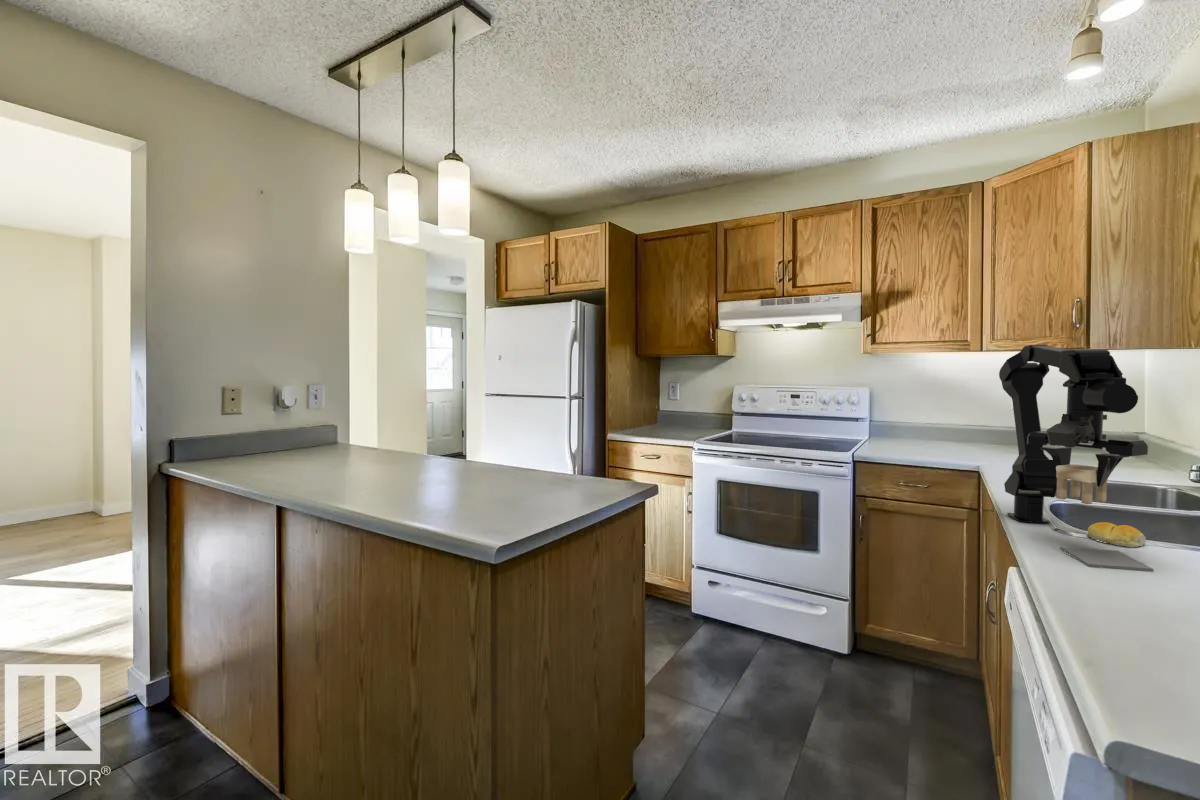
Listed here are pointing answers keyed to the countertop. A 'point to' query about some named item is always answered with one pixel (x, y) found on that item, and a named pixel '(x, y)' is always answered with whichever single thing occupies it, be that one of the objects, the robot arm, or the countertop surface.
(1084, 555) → the mat
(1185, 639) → the countertop surface
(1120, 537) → the bread roll
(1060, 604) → the countertop surface
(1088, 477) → the stool
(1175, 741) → the countertop surface
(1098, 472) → the robot arm
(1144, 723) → the countertop surface
